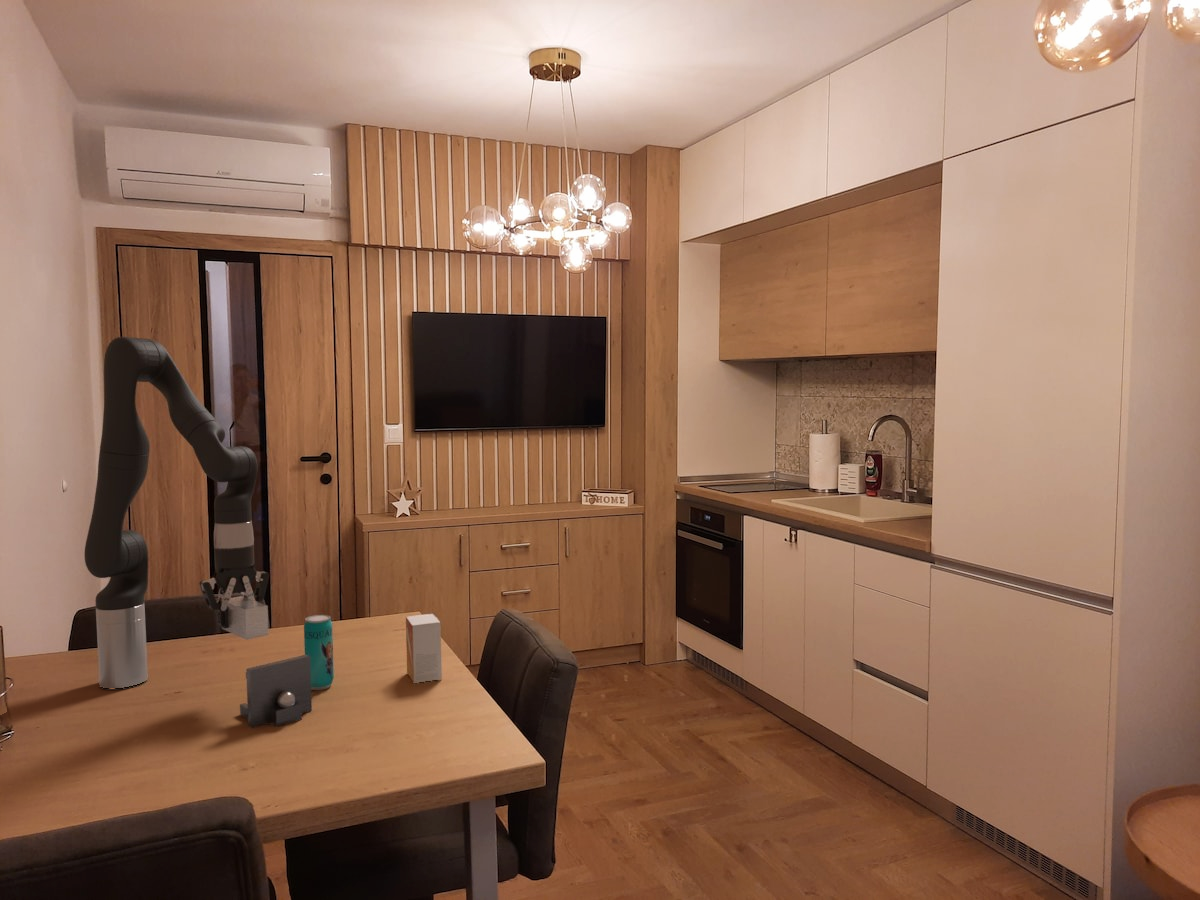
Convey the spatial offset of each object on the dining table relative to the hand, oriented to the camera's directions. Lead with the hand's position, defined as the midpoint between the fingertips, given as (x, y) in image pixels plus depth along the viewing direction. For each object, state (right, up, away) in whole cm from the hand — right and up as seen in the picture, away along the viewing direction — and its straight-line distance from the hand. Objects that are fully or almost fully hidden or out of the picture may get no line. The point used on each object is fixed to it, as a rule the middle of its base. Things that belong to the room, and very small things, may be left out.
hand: (236, 624), depth 176 cm
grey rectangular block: (+3, -1, -2) cm, 4 cm away
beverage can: (+15, -15, +6) cm, 22 cm away
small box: (+36, -14, +12) cm, 41 cm away
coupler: (+12, -16, -10) cm, 22 cm away
